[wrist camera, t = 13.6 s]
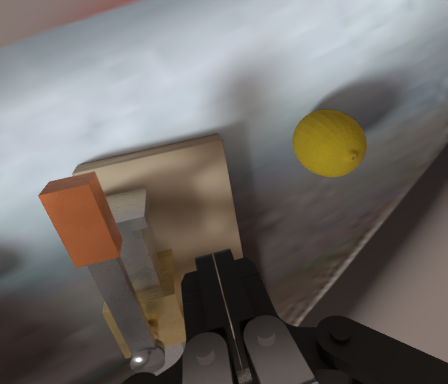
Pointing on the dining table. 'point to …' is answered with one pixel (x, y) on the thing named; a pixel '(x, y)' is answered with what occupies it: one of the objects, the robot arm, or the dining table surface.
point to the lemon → (329, 143)
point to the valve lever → (102, 260)
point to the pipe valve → (148, 275)
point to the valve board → (179, 196)
